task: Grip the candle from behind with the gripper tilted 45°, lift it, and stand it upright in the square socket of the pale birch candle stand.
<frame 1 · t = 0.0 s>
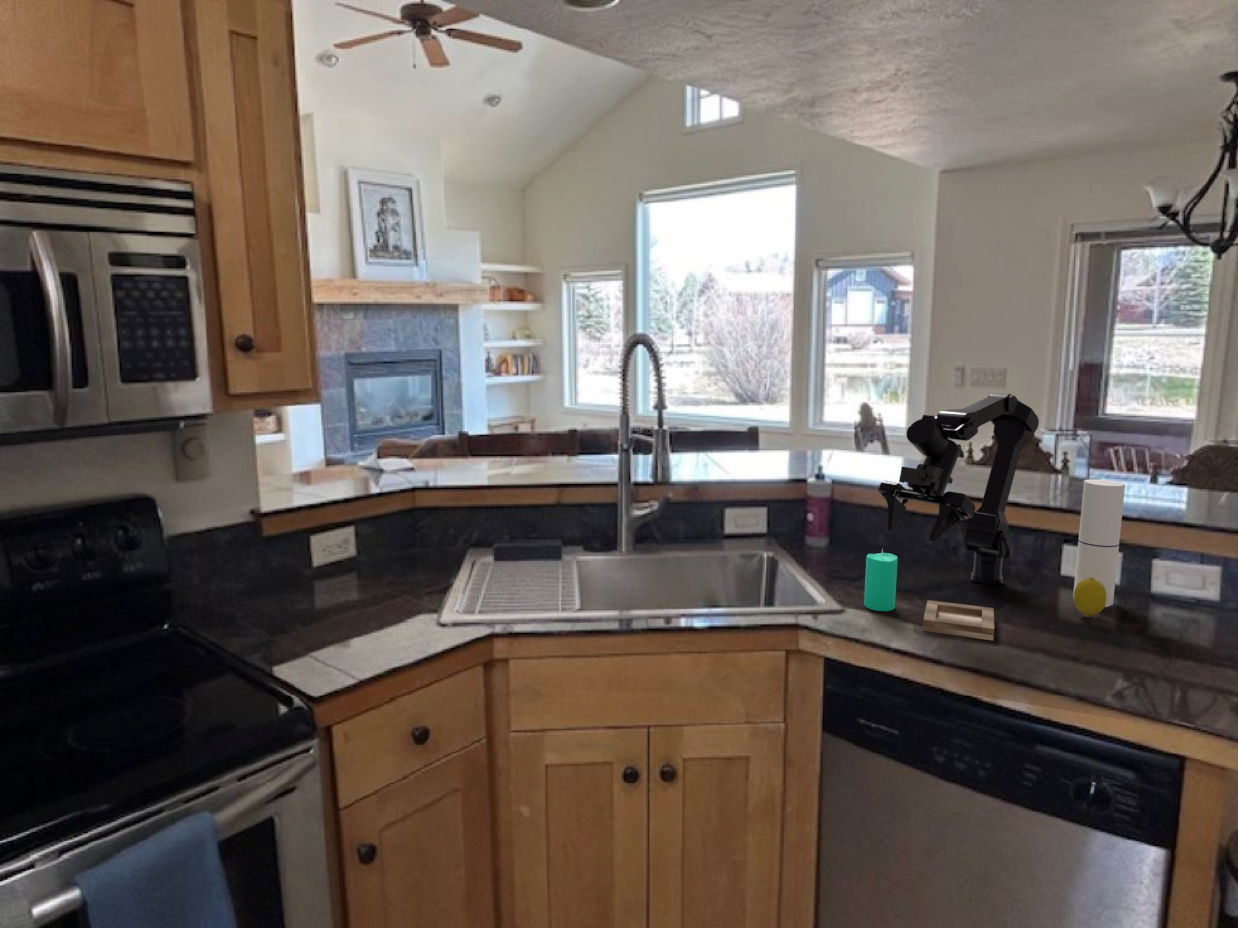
hand: (909, 536, 160), 15 cm above the worktop, tool tilted 35°, fingers open, 9 cm apart
cylindrical container: (1092, 602, 167), on the worktop
candle: (879, 607, 164), on the worktop
lemon: (1087, 617, 158), on the worktop
candle stand: (958, 624, 154), on the worktop
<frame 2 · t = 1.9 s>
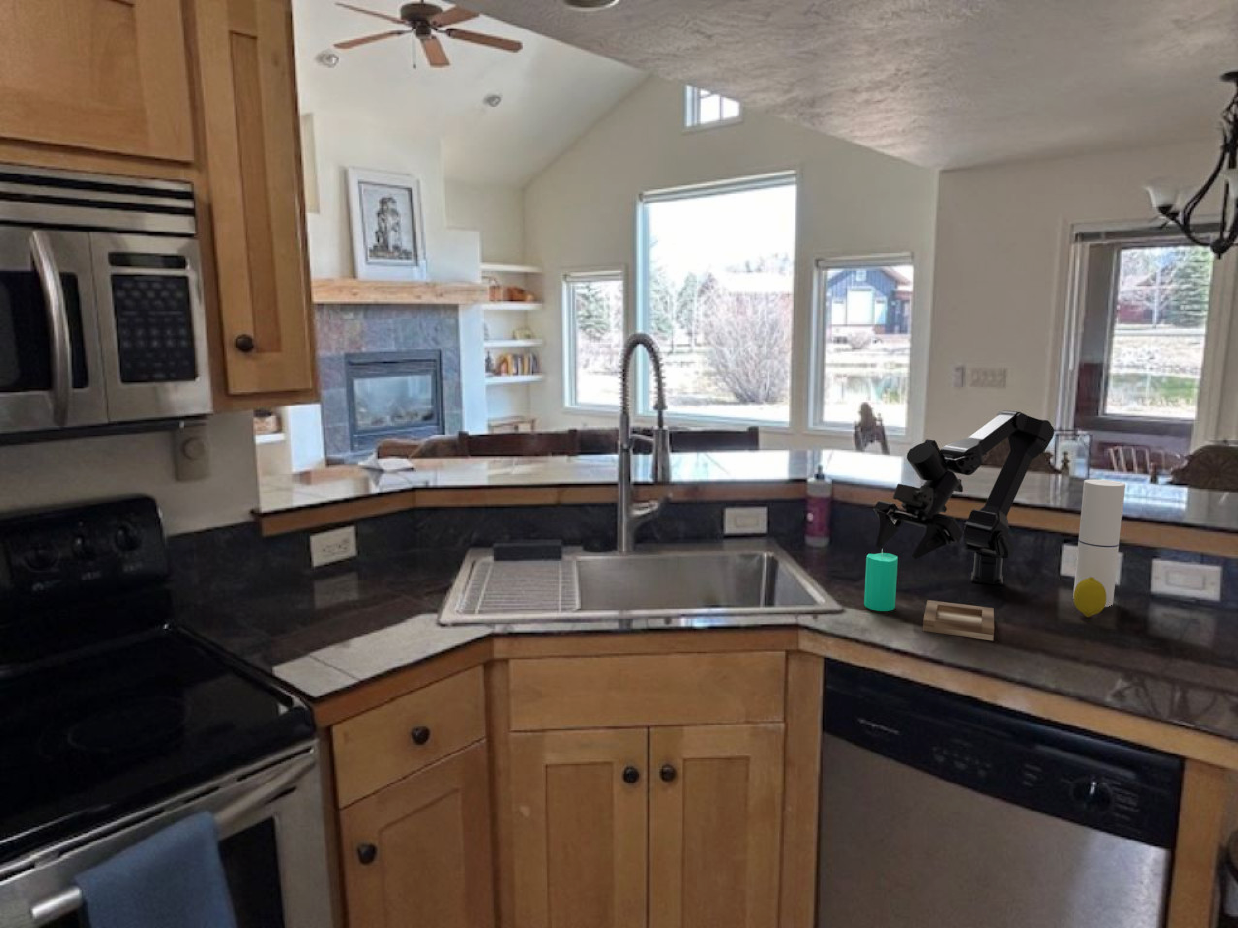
hand: (894, 552, 164), 11 cm above the worktop, tool tilted 45°, fingers open, 9 cm apart
nothing on the worktop moved.
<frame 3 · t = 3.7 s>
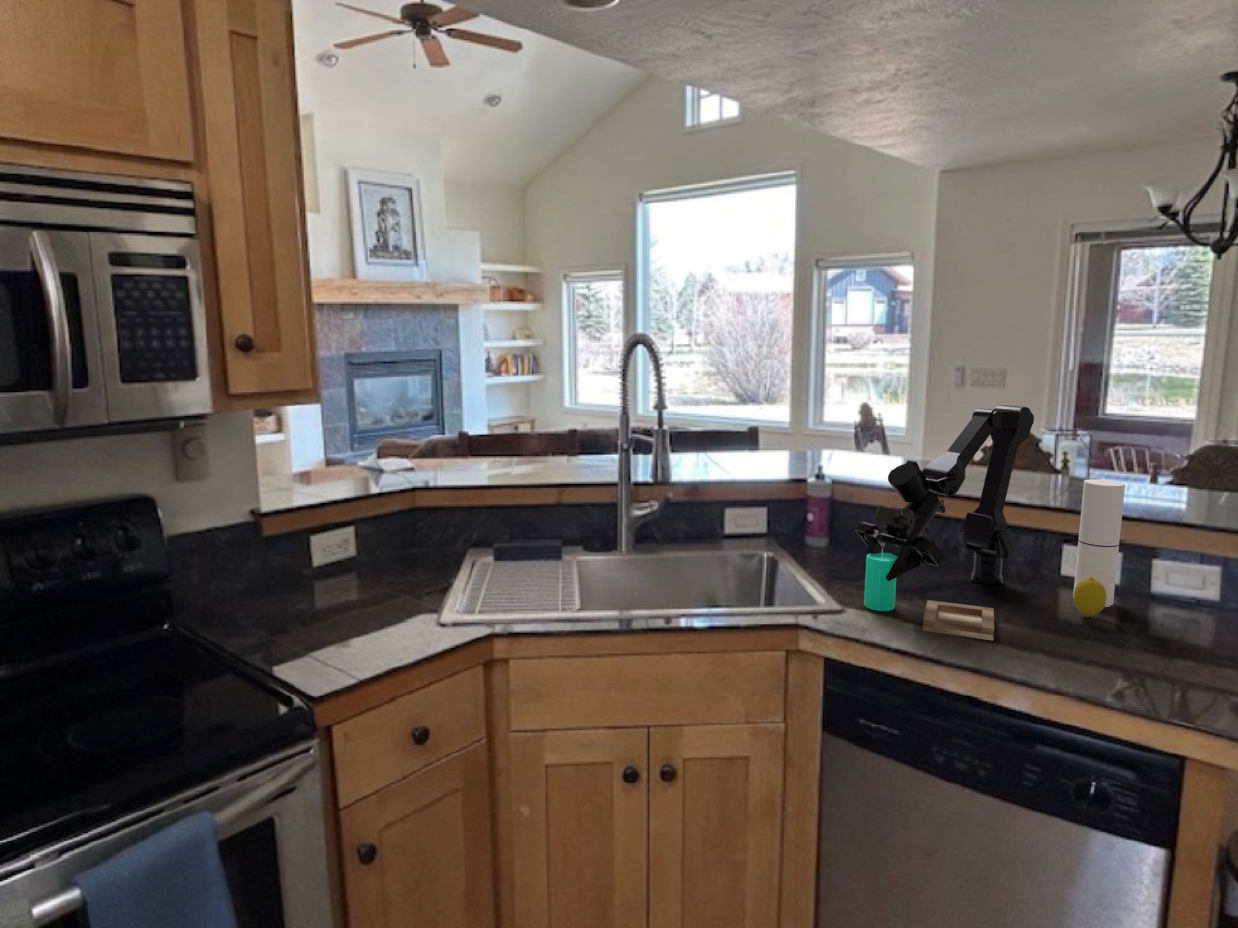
hand: (876, 575, 162), 7 cm above the worktop, tool tilted 45°, fingers closed on candle, 5 cm apart
candle: (879, 606, 164), on the worktop, touching gripper
everything else where it was.
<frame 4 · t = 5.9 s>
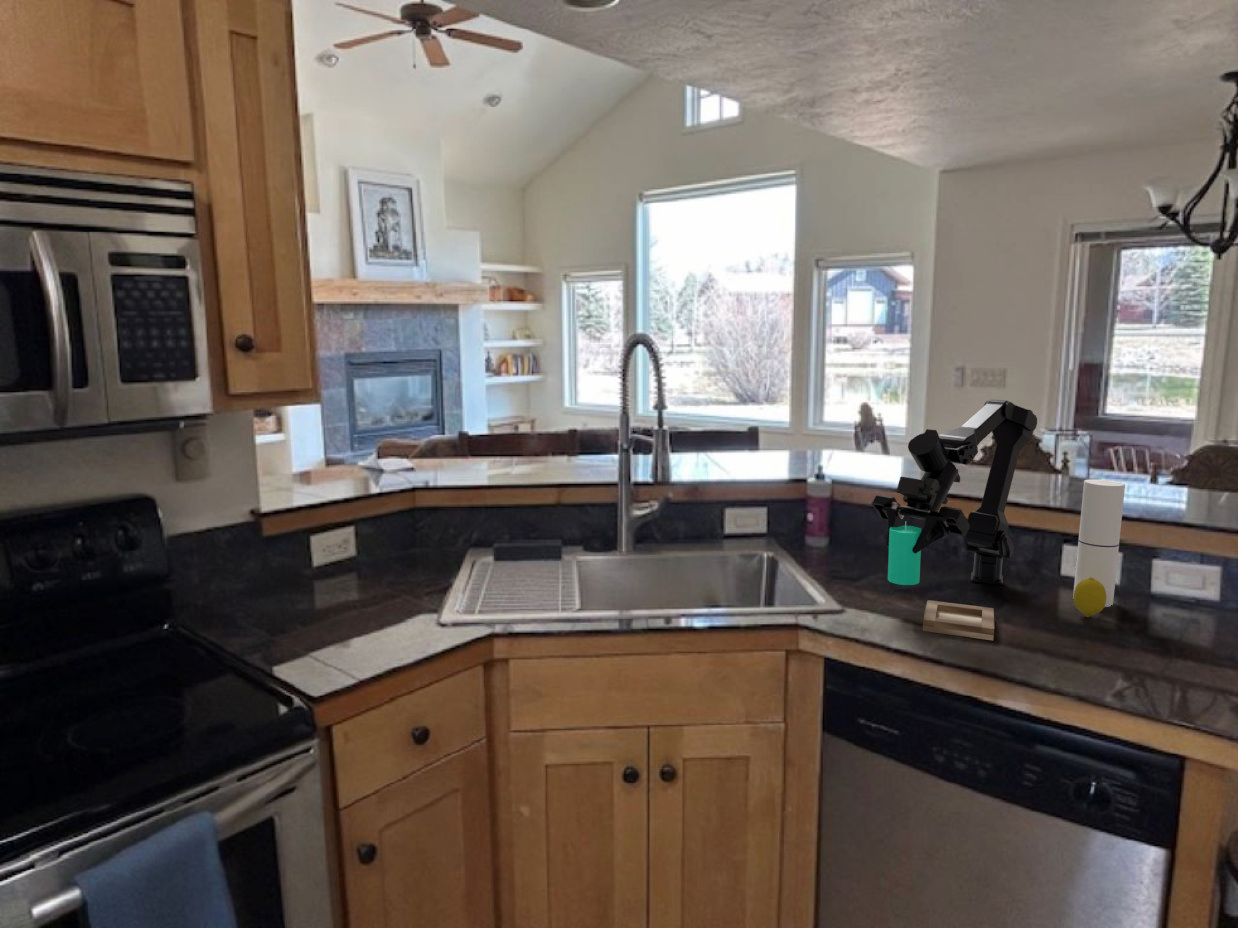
hand: (900, 549, 158), 13 cm above the worktop, tool tilted 45°, fingers closed on candle, 5 cm apart
candle: (903, 581, 159), point 6 cm above the worktop, touching gripper
everything else where it was.
when the fingers open (9 cm above the worktop, at t = 8.3 s): candle drops 1 cm, resting on candle stand.
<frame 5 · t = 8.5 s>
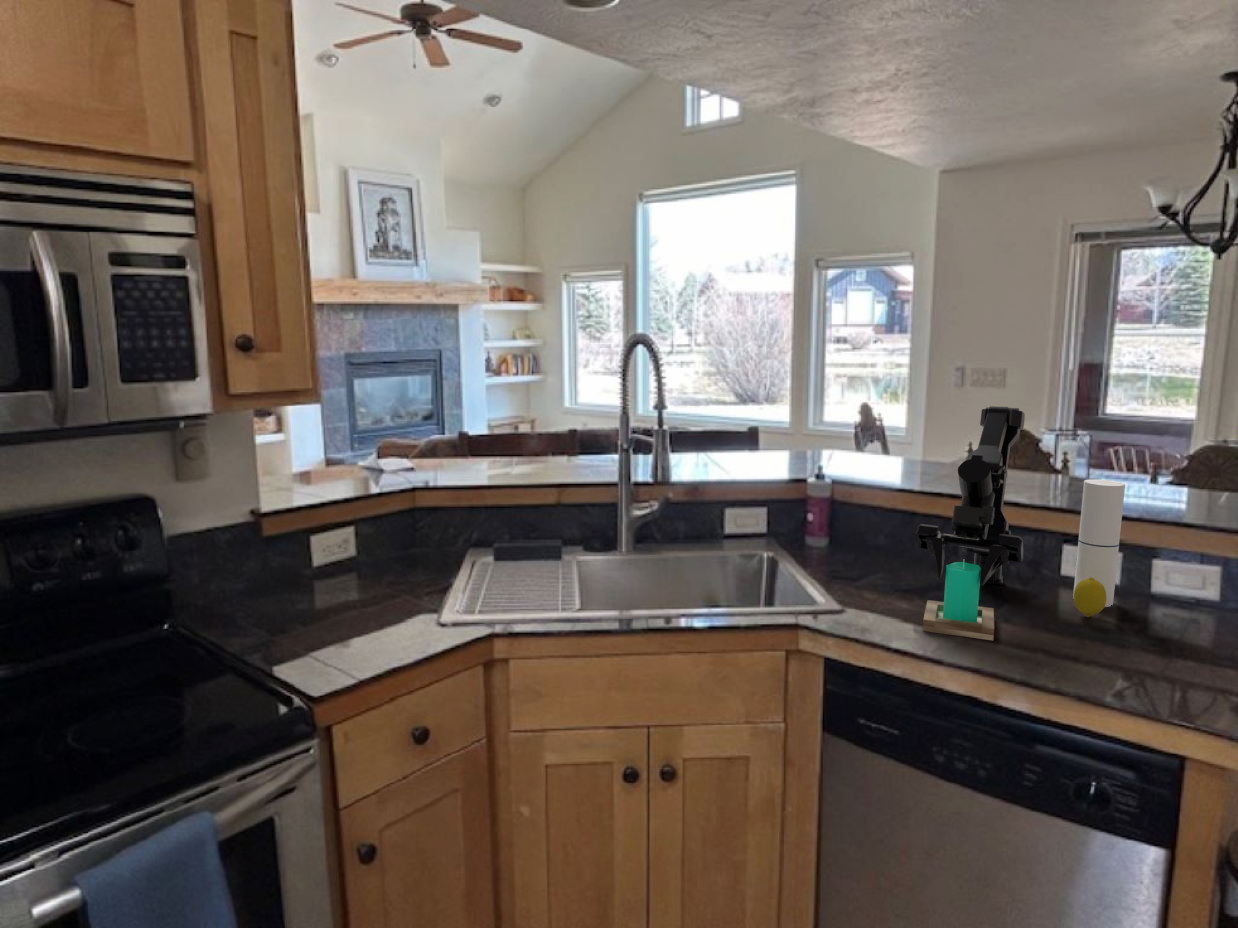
hand: (960, 581, 151), 9 cm above the worktop, tool tilted 45°, fingers open, 7 cm apart
candle: (959, 620, 154), point 1 cm above the worktop, touching candle stand
everything else where it was.
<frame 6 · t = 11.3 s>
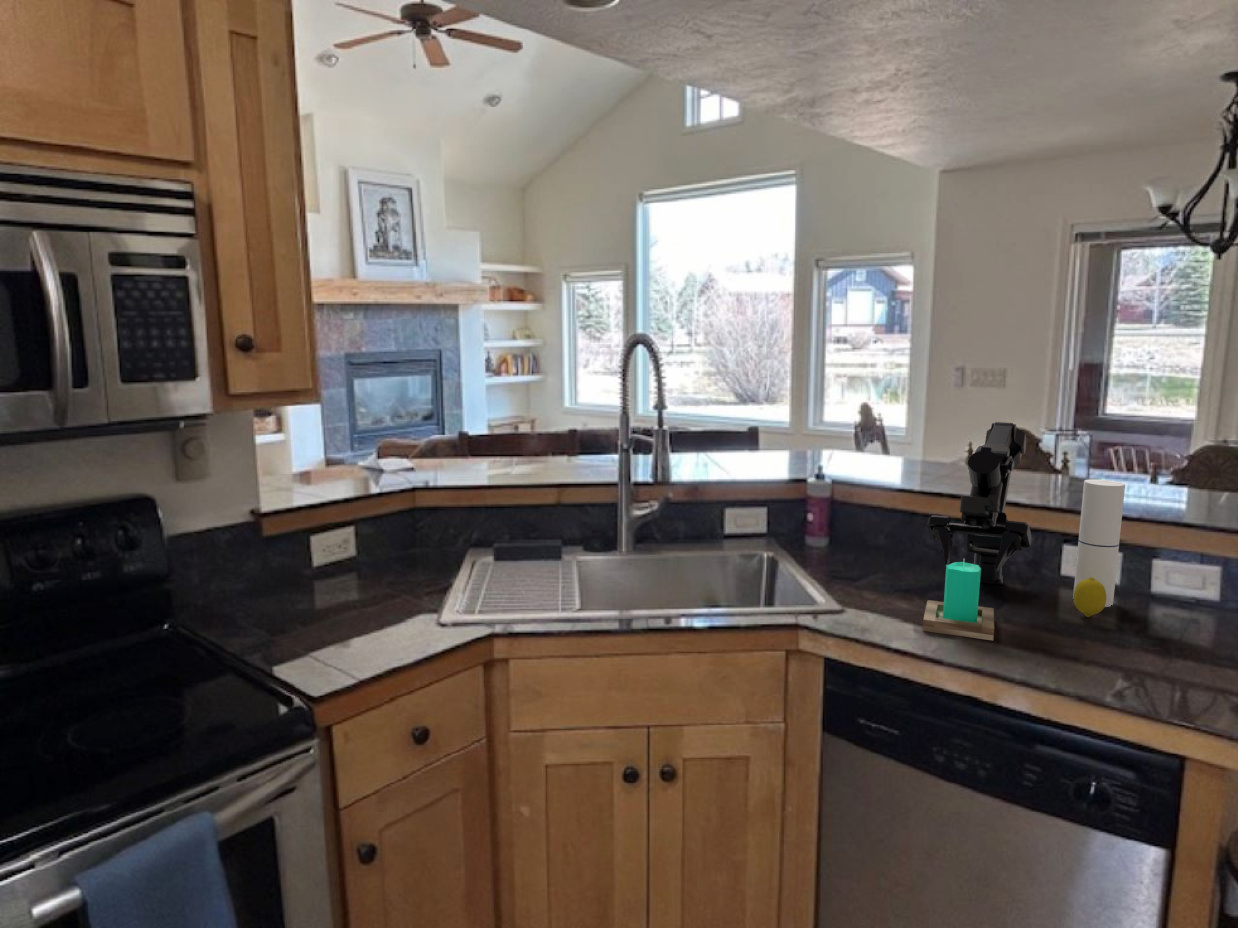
hand: (970, 567, 159), 9 cm above the worktop, tool tilted 45°, fingers open, 9 cm apart
nothing on the worktop moved.
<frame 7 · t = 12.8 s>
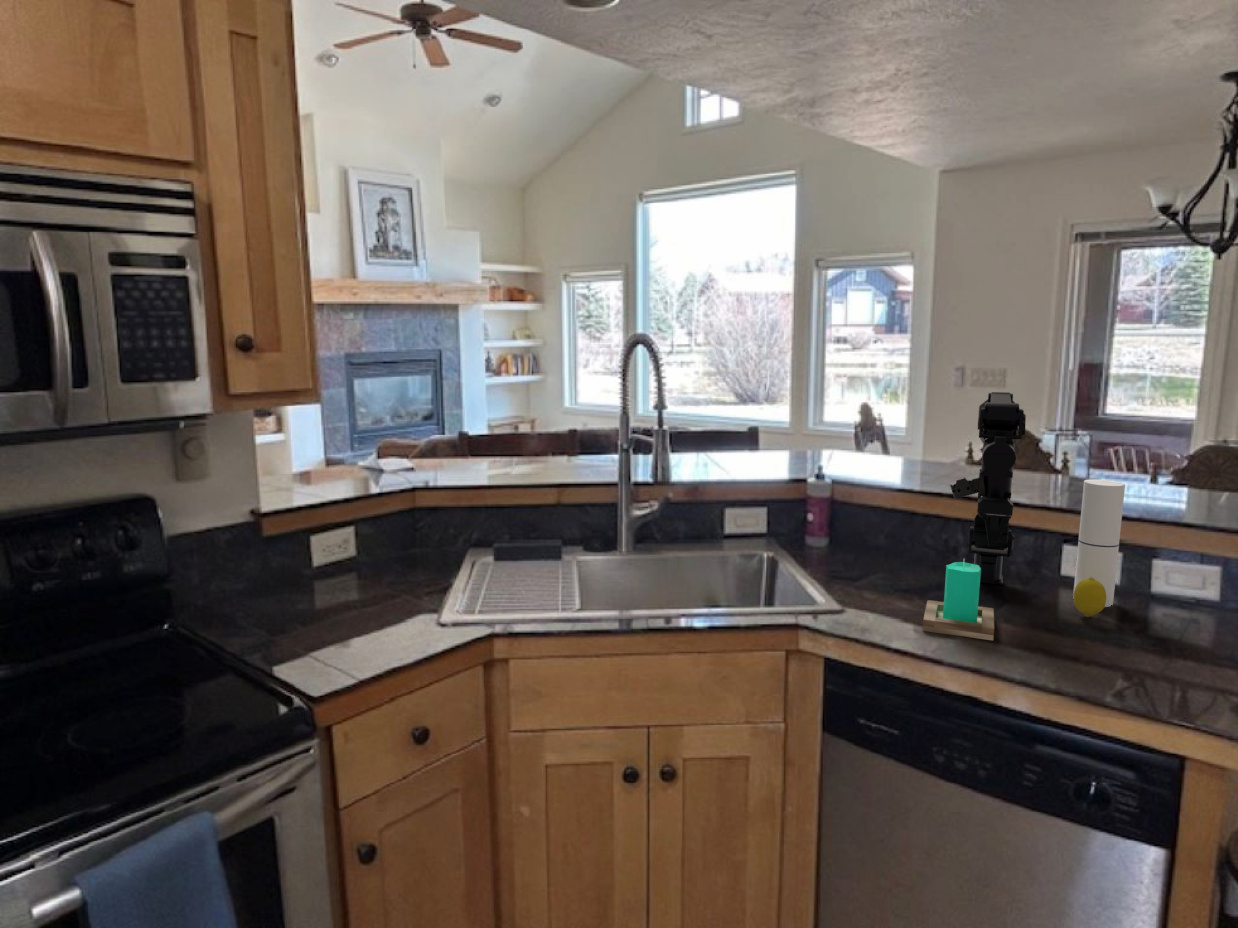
hand: (991, 540, 165), 13 cm above the worktop, tool pointing down, fingers open, 9 cm apart
nothing on the worktop moved.
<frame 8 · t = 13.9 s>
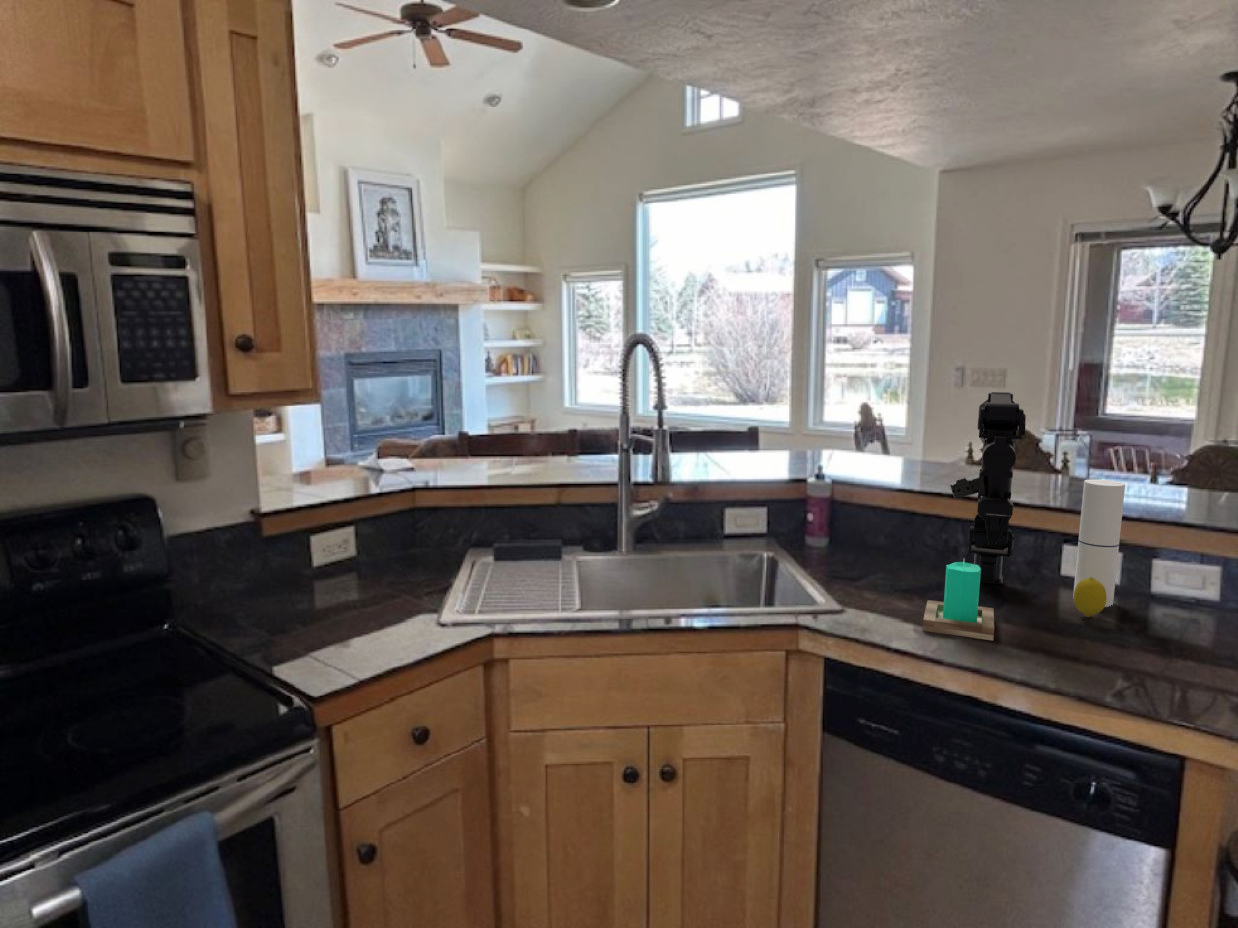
hand: (991, 540, 165), 13 cm above the worktop, tool pointing down, fingers open, 9 cm apart
nothing on the worktop moved.
at the end: candle 0.2 cm off-centre on the candle stand, point 0.8 cm above the candle stand's base; candle tilted 0°; the gripper is holding nothing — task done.
